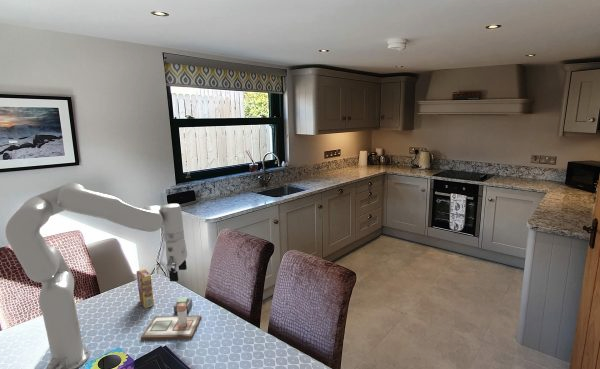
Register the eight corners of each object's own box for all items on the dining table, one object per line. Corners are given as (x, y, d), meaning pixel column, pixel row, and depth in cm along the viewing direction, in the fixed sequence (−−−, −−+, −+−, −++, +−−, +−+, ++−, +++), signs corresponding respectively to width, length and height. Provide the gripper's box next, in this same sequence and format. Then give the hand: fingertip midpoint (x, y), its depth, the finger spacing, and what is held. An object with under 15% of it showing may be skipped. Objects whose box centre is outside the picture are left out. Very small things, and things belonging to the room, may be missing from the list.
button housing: (188, 313, 154) (187, 305, 154) (174, 313, 154) (173, 306, 154) (192, 305, 160) (191, 298, 160) (178, 305, 160) (178, 298, 160)
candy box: (154, 305, 161) (151, 275, 158) (145, 308, 158) (141, 278, 155) (149, 297, 168) (145, 268, 165) (139, 300, 165) (135, 271, 162)
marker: (186, 327, 142) (184, 307, 140) (177, 327, 142) (175, 307, 140) (188, 322, 145) (187, 302, 143) (180, 322, 145) (178, 302, 143)
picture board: (191, 338, 137) (191, 335, 136) (140, 340, 137) (140, 336, 136) (201, 317, 150) (201, 314, 150) (155, 318, 150) (154, 316, 150)
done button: (186, 306, 155) (185, 301, 154) (177, 306, 155) (176, 301, 154) (188, 301, 159) (188, 296, 158) (180, 301, 159) (179, 297, 158)
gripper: (175, 243, 128) (180, 285, 132) (190, 227, 145) (194, 265, 149) (155, 243, 128) (160, 286, 132) (172, 228, 145) (177, 265, 149)
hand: (178, 275), depth 141 cm, fingers open, 9 cm apart
